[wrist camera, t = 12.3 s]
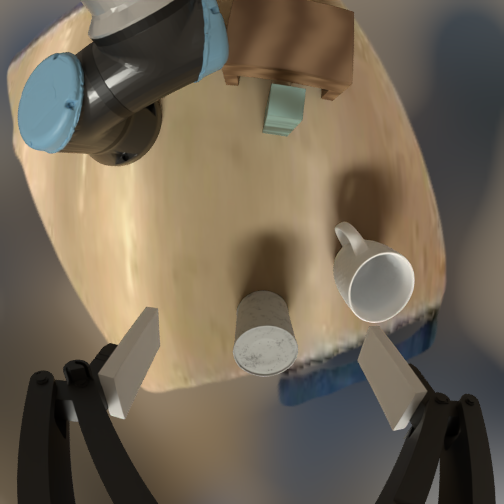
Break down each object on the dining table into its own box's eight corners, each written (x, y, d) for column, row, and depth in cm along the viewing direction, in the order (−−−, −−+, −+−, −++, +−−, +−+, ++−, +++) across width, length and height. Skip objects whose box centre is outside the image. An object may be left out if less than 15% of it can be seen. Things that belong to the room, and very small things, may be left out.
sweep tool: (287, 136, 42) (302, 119, 29) (262, 132, 42) (267, 114, 29) (299, 20, 36) (314, -22, 22) (278, 17, 36) (286, -27, 22)
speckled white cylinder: (236, 289, 49) (232, 324, 37) (290, 290, 49) (301, 325, 38) (236, 334, 52) (233, 375, 40) (286, 335, 52) (294, 376, 40)
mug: (302, 233, 47) (321, 255, 34) (355, 200, 45) (390, 211, 32) (340, 300, 50) (364, 336, 37) (387, 269, 48) (422, 296, 36)
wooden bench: (226, 84, 40) (220, 62, 30) (237, 21, 36) (235, -9, 26) (332, 100, 40) (352, 83, 31) (336, 36, 37) (353, 11, 27)
